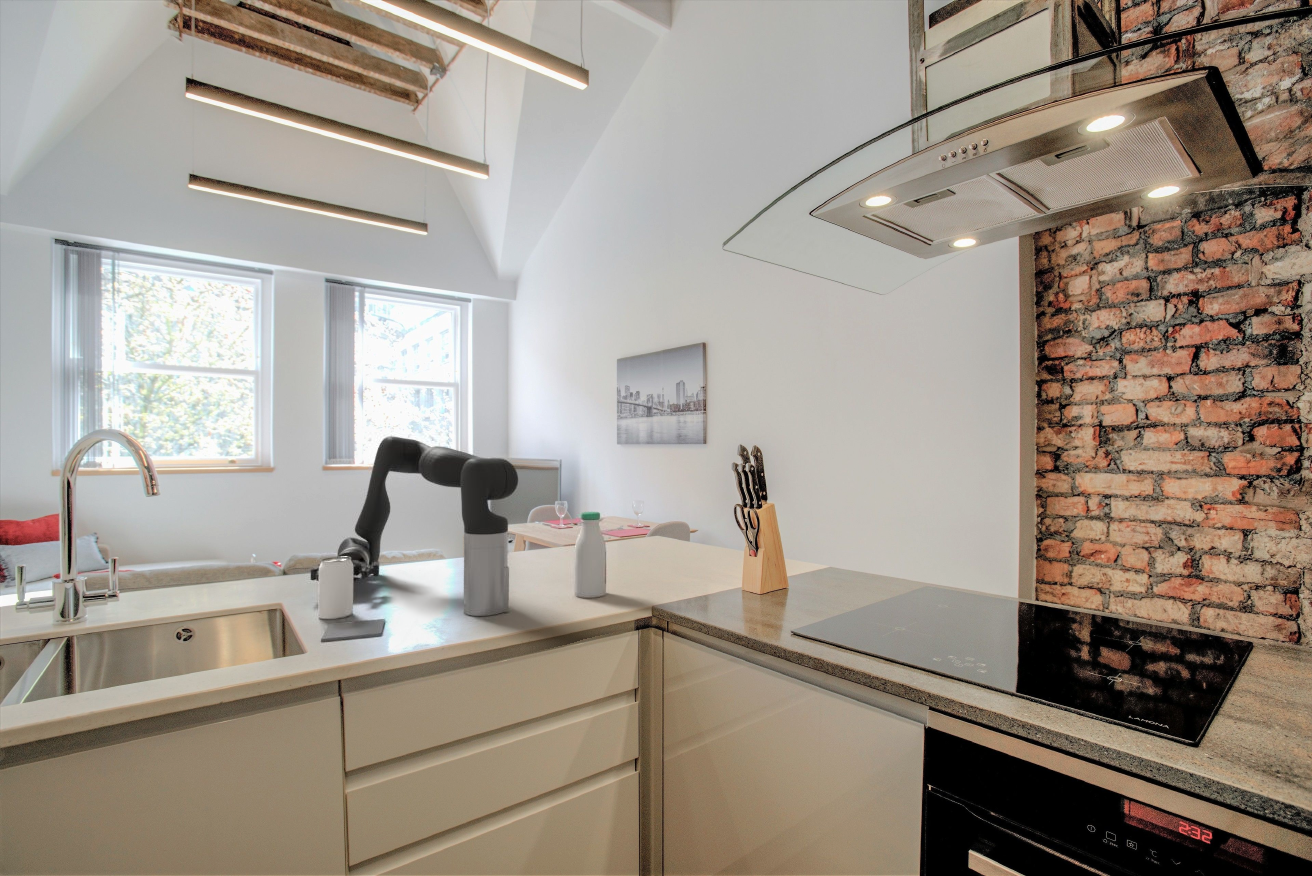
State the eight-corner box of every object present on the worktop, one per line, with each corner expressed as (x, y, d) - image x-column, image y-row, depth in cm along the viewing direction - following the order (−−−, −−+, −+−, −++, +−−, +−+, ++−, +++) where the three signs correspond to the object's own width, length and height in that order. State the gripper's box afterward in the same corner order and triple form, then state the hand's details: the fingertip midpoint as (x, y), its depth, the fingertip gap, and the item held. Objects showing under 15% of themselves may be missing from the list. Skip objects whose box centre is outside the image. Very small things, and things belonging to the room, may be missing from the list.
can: (337, 621, 121) (338, 562, 121) (310, 619, 122) (311, 561, 123) (359, 612, 128) (360, 556, 128) (333, 610, 129) (334, 555, 129)
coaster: (384, 621, 121) (384, 618, 121) (380, 635, 112) (380, 633, 112) (329, 626, 118) (329, 623, 118) (320, 641, 108) (320, 639, 108)
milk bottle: (604, 598, 140) (604, 514, 140) (571, 598, 140) (572, 514, 140) (607, 591, 147) (607, 510, 148) (576, 590, 148) (577, 510, 148)
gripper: (319, 550, 146) (306, 561, 131) (382, 547, 151) (377, 557, 136) (319, 580, 146) (305, 596, 131) (382, 576, 151) (376, 590, 136)
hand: (342, 576), depth 133 cm, fingers open, 8 cm apart
